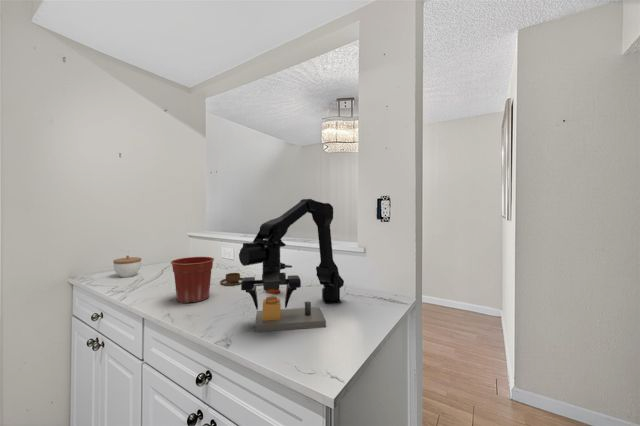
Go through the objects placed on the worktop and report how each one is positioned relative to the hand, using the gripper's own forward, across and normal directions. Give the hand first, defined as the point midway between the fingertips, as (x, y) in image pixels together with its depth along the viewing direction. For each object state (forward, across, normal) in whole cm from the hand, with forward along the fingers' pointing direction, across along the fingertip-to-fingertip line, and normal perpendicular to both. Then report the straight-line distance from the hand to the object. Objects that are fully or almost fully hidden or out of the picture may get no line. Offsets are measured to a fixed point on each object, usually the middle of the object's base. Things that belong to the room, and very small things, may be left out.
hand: (271, 308), depth 91 cm
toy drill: (+5, +3, +30) cm, 31 cm away
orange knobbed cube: (+3, 0, 0) cm, 3 cm away
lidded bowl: (+5, -78, +76) cm, 109 cm away
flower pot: (+5, -32, +30) cm, 44 cm away
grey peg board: (+5, +6, 0) cm, 8 cm away
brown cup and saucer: (+6, -22, +55) cm, 59 cm away
